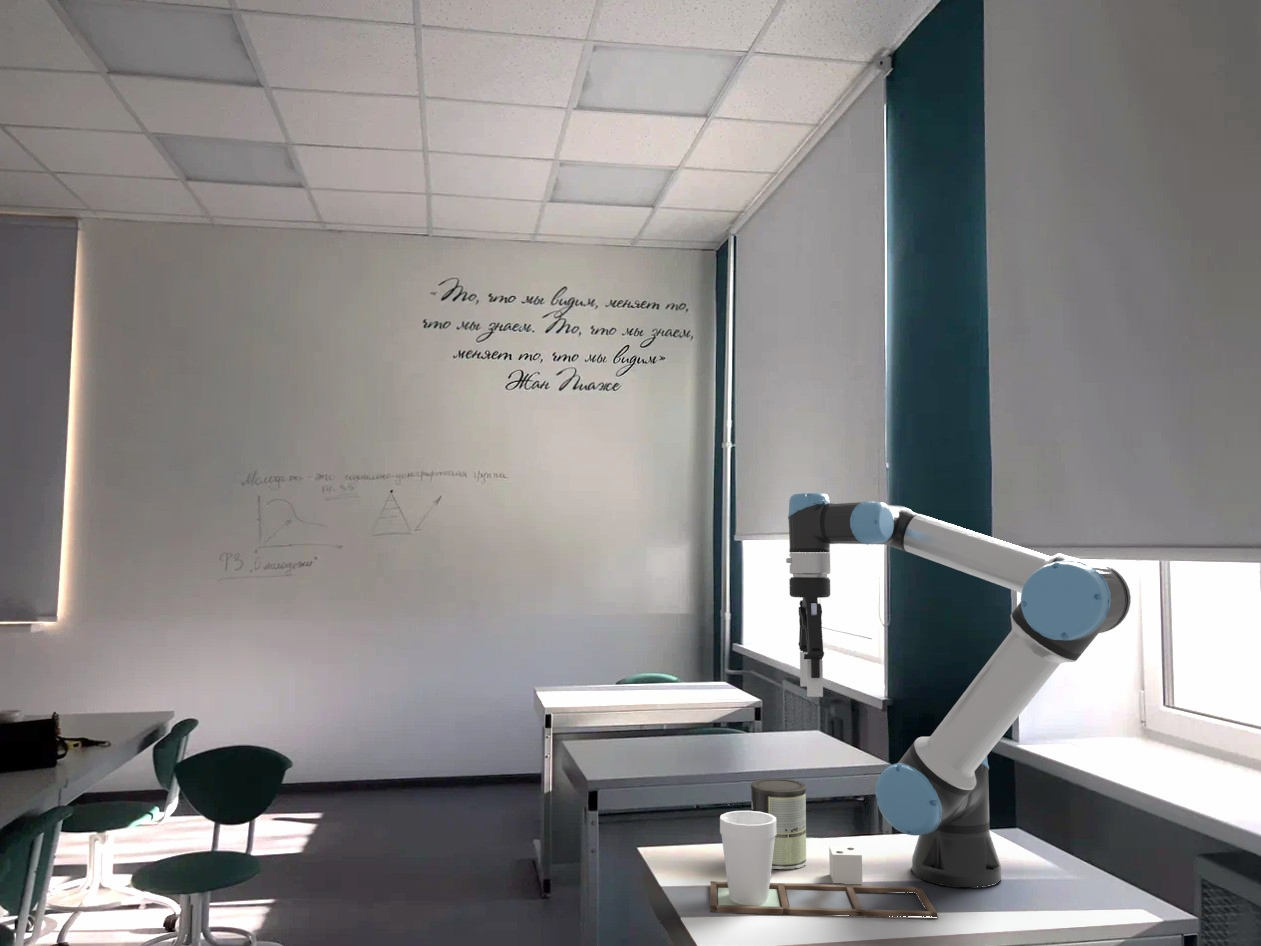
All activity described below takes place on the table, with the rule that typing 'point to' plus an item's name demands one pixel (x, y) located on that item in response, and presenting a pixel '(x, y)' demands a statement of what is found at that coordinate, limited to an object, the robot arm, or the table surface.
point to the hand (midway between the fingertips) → (811, 691)
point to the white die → (845, 865)
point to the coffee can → (784, 818)
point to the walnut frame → (815, 900)
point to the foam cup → (748, 854)
